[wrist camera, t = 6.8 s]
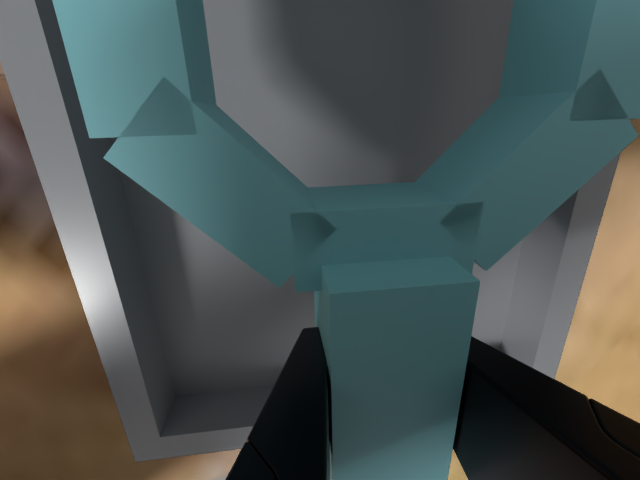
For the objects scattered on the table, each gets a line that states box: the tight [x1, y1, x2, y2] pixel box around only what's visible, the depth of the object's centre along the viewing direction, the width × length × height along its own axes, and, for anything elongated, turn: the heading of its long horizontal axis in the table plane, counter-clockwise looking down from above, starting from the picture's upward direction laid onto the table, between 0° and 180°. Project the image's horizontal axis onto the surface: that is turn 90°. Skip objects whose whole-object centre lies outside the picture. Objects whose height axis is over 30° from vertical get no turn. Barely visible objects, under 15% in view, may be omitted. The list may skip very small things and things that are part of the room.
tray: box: [0, 0, 630, 462], centre depth 9 cm, size 20×15×2 cm
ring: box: [52, 0, 640, 480], centre depth 6 cm, size 14×9×3 cm, turn 2°
